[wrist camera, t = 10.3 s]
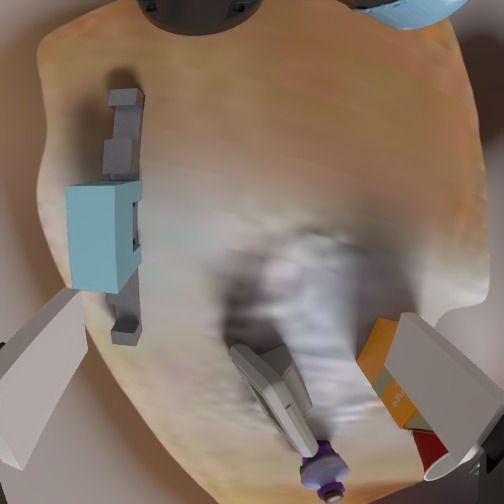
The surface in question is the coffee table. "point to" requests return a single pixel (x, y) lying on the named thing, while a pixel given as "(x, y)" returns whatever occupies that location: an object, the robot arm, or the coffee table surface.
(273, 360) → the digital clock
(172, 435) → the coffee table surface
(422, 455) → the plastic cup
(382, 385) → the orange juice
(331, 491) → the potion bottle
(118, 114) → the rail
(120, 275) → the block
